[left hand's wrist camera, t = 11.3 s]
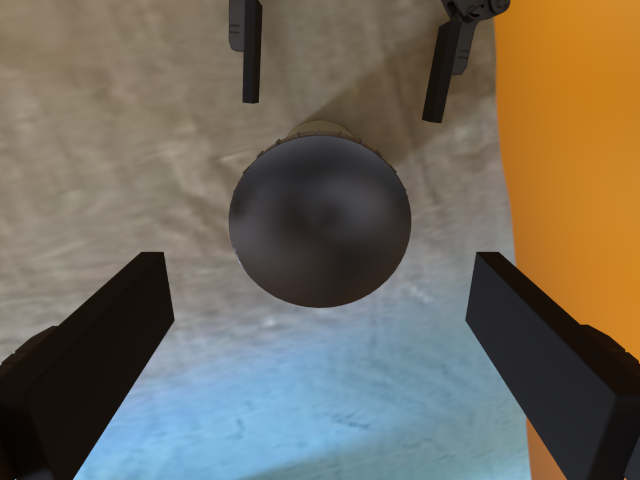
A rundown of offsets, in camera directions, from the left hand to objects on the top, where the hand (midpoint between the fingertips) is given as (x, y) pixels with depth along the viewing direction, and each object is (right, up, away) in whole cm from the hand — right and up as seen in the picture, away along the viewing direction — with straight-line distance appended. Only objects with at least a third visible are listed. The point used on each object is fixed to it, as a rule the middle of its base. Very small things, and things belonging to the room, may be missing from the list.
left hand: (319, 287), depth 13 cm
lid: (0, +2, +6) cm, 6 cm away
